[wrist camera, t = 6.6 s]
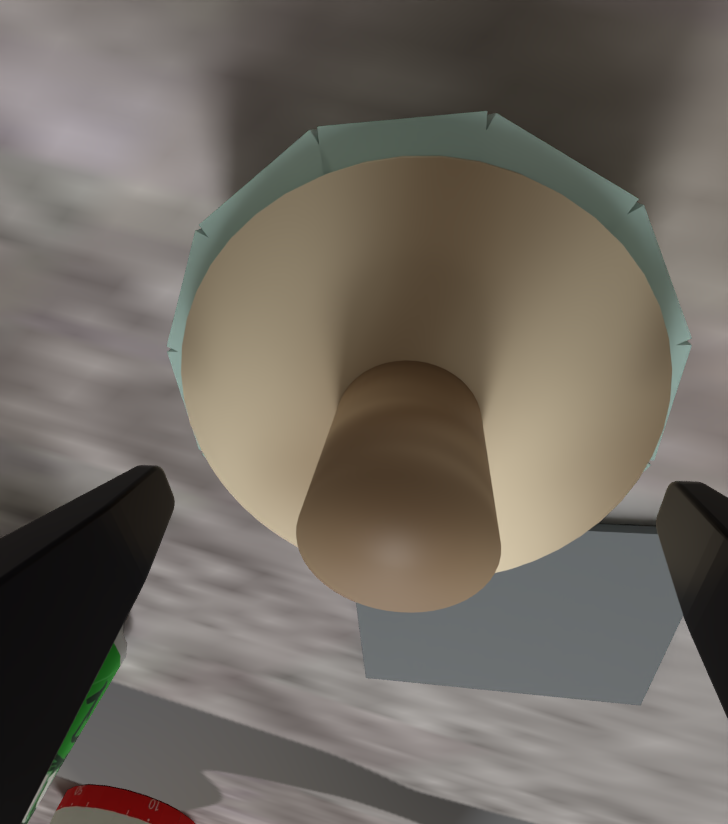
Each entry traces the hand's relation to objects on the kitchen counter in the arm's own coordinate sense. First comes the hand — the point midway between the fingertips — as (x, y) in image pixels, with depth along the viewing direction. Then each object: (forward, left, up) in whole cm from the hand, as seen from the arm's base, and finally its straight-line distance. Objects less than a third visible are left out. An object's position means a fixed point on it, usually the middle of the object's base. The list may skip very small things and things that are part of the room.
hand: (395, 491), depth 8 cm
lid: (0, 0, -3) cm, 3 cm away
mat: (-4, +14, -8) cm, 16 cm away
